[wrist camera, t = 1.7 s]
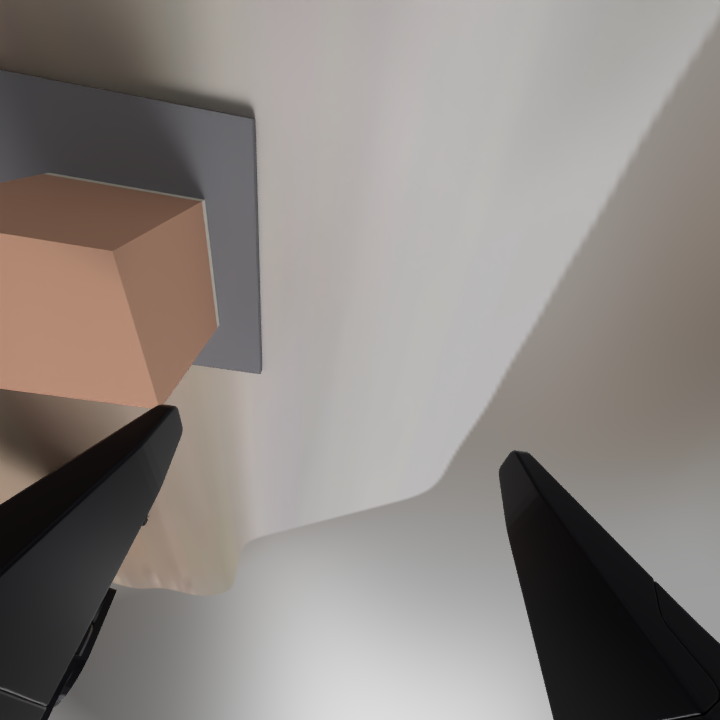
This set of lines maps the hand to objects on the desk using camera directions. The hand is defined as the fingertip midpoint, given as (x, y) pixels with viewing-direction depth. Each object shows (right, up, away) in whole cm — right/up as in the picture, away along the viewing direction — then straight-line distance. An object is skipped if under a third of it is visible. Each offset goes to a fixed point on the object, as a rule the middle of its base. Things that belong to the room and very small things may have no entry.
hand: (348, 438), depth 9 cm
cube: (-9, +7, +6) cm, 13 cm away
